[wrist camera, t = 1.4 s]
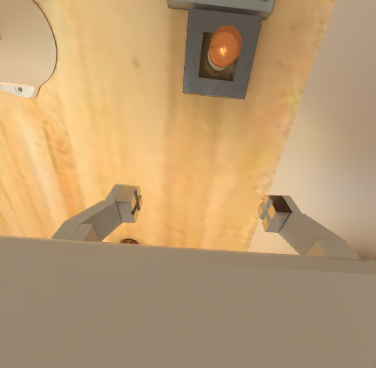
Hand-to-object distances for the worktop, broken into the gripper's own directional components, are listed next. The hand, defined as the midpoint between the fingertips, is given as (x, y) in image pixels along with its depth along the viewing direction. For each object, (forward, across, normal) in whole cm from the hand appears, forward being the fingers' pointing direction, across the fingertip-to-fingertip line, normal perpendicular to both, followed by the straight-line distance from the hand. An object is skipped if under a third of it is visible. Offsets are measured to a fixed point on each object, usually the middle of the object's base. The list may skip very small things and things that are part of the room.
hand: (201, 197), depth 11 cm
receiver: (+29, -3, -7) cm, 30 cm away
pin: (+29, -3, -7) cm, 30 cm away
